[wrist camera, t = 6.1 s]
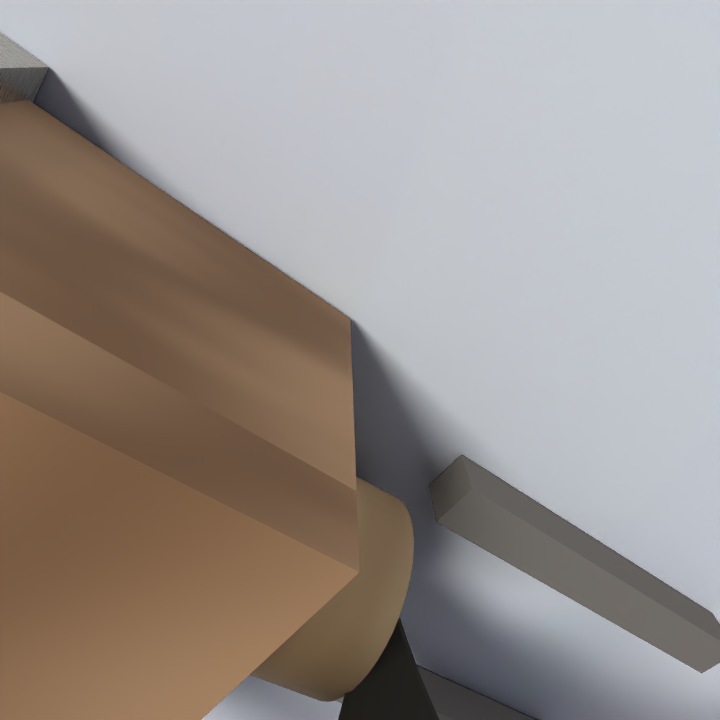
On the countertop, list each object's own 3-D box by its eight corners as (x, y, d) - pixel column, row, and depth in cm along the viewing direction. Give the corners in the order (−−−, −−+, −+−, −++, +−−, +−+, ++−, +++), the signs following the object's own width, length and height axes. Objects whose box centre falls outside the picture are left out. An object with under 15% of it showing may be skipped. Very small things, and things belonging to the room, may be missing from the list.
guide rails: (712, 613, 14) (738, 651, 13) (516, 738, 16) (526, 777, 15) (461, 454, 11) (472, 489, 10) (274, 633, 13) (269, 673, 12)
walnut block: (349, 319, 9) (358, 572, 5) (114, 607, 13) (-16, 921, 8) (29, 100, 7) (-456, 163, 3) (-148, 501, 11) (-505, 825, 6)
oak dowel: (371, 473, 12) (443, 540, 8) (287, 623, 12) (326, 757, 8) (50, 303, 10) (-30, 299, 6) (-62, 482, 9) (-207, 579, 6)
